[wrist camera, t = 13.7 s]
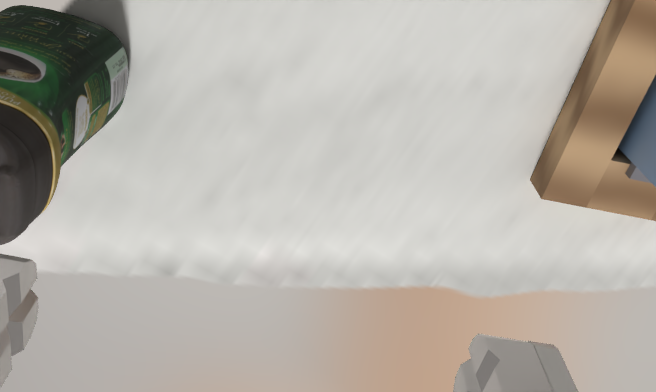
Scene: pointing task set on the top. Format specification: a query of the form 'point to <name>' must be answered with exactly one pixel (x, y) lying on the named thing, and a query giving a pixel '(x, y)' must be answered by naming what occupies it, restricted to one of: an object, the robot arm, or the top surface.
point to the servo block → (642, 139)
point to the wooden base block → (603, 118)
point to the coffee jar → (50, 103)
